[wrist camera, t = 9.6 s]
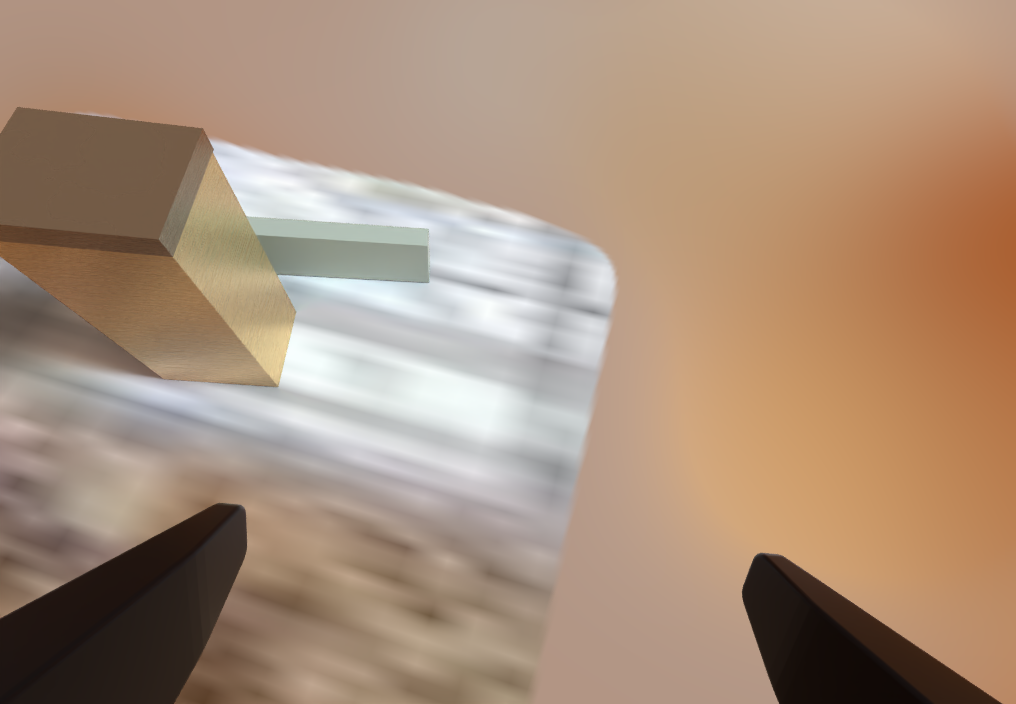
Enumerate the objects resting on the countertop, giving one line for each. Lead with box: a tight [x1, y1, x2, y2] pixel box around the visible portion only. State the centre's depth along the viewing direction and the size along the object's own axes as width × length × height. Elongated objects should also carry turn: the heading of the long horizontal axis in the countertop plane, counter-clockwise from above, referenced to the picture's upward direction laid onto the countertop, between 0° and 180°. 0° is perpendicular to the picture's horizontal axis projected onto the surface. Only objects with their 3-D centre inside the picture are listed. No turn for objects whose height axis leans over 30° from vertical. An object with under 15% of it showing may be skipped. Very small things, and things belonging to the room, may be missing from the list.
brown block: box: [0, 107, 296, 387], centre depth 19 cm, size 5×4×11 cm
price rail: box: [246, 216, 430, 283], centre depth 24 cm, size 18×1×3 cm, turn 91°
